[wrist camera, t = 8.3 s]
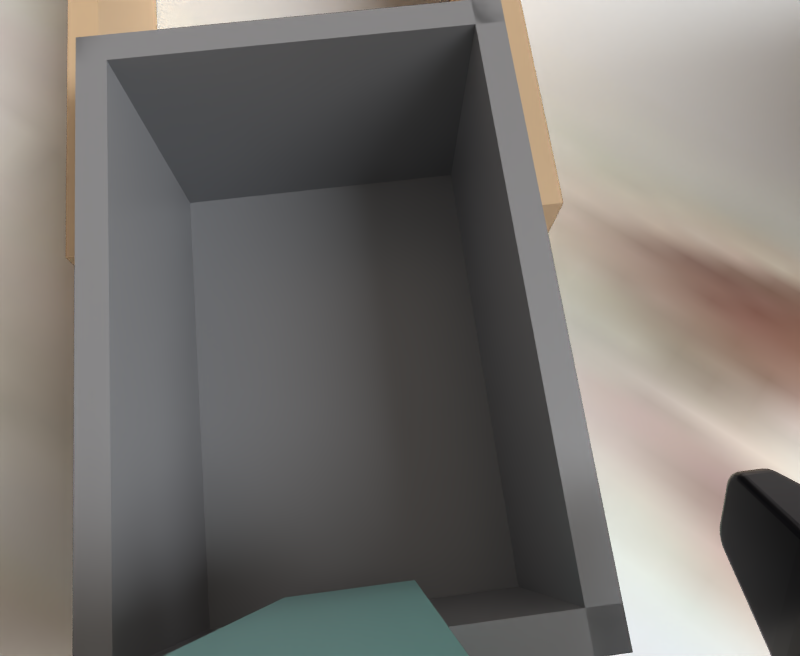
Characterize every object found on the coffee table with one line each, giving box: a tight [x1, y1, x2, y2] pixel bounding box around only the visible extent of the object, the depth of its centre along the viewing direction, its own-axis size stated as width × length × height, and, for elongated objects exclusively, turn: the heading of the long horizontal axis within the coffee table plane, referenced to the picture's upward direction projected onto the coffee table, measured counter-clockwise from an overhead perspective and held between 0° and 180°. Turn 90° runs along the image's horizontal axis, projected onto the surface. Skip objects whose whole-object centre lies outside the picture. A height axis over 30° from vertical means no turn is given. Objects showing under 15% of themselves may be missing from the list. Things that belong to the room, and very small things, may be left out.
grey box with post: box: [73, 0, 633, 656], centre depth 10 cm, size 11×7×13 cm, turn 7°
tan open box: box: [66, 0, 563, 265], centre depth 16 cm, size 11×9×4 cm
